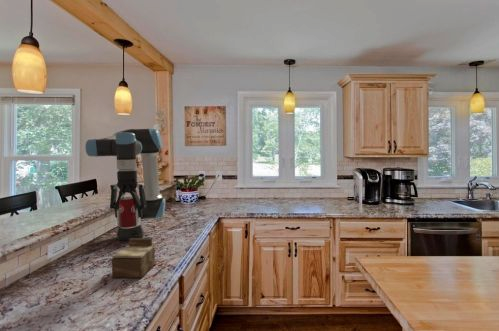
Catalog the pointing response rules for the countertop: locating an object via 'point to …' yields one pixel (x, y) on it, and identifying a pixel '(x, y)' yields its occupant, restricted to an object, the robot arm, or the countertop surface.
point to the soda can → (127, 212)
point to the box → (133, 266)
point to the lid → (135, 248)
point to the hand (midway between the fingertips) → (129, 225)
